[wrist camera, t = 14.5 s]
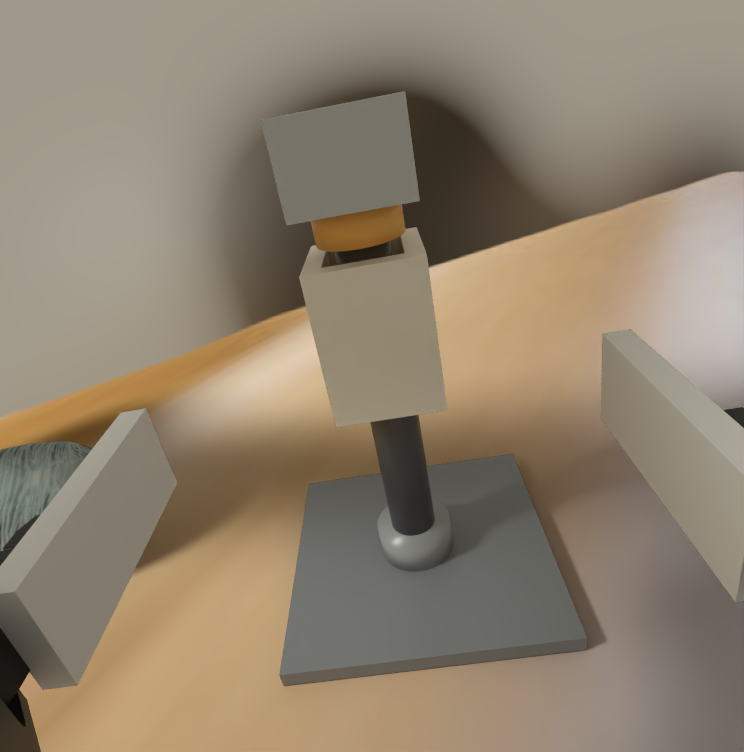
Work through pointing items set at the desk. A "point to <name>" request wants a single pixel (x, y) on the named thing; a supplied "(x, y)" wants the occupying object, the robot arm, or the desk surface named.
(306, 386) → the desk surface
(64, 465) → the grey oval lump
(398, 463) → the stand
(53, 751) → the desk surface
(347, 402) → the sleeve
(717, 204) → the desk surface
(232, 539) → the desk surface
